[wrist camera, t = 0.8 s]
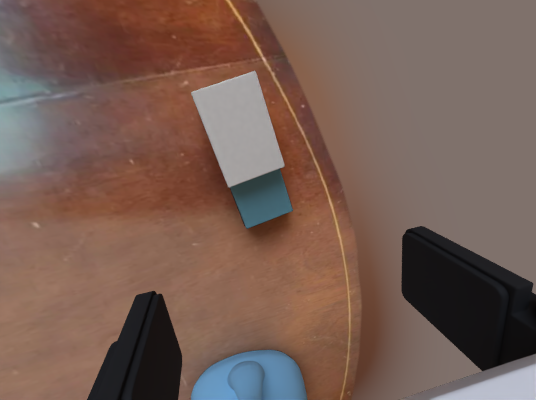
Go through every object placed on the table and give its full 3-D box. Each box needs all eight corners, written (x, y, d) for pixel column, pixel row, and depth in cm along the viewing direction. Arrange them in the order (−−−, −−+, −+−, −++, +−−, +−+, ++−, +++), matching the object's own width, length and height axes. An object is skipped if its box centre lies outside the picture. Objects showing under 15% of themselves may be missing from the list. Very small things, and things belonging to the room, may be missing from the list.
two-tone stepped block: (194, 97, 22) (190, 92, 18) (246, 79, 23) (255, 70, 18) (243, 222, 26) (250, 243, 22) (286, 205, 27) (302, 222, 22)
